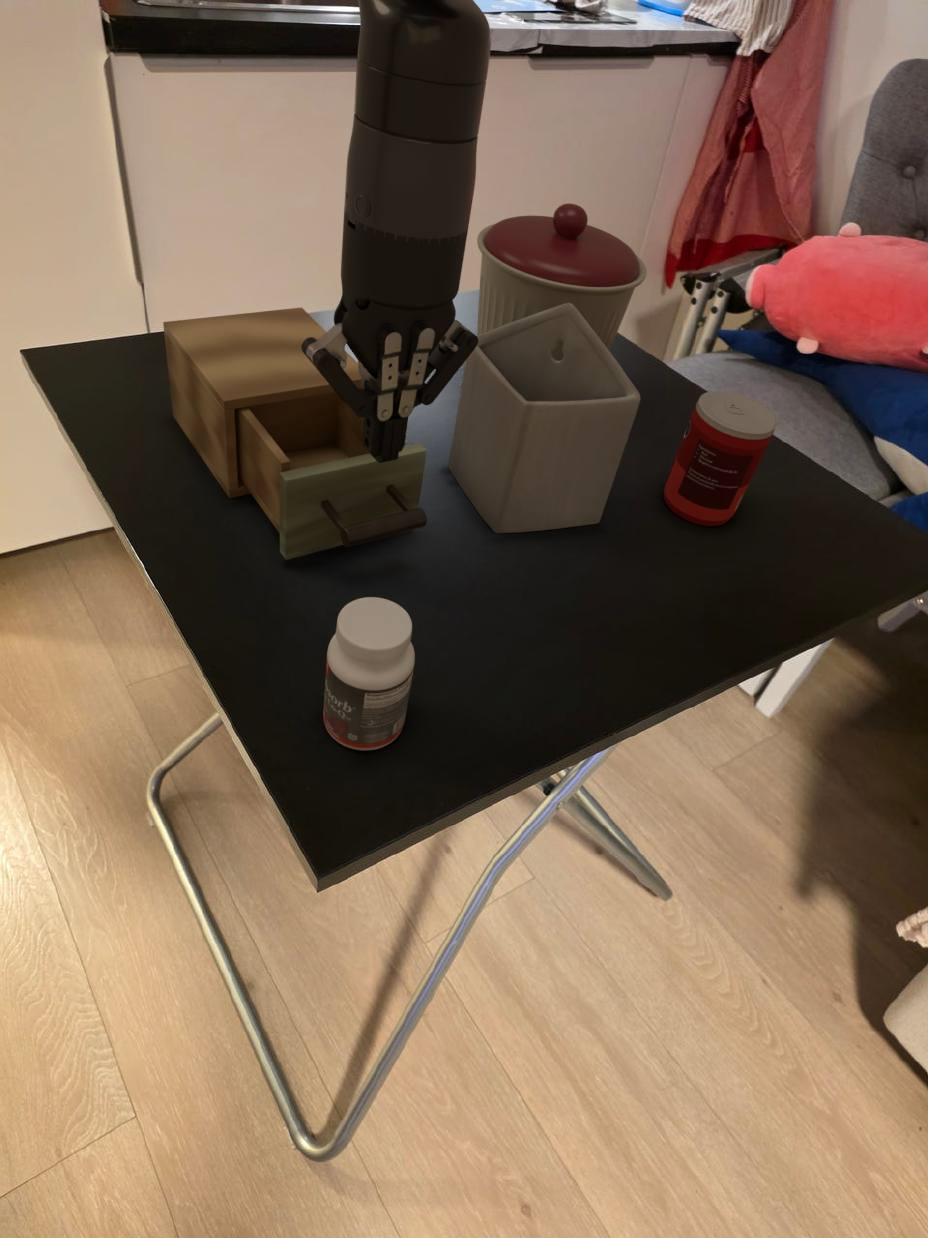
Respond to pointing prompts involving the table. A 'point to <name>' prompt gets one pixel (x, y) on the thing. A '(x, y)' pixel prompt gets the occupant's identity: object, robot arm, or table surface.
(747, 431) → the red supplement jar
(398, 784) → the table surface
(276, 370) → the cabinet
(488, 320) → the canister
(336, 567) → the table surface
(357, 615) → the pill bottle
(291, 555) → the drawer
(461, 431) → the planter
